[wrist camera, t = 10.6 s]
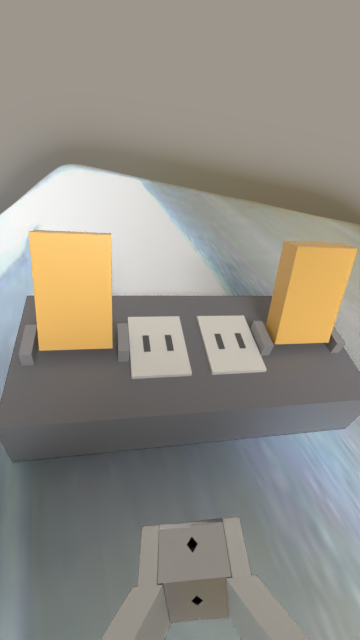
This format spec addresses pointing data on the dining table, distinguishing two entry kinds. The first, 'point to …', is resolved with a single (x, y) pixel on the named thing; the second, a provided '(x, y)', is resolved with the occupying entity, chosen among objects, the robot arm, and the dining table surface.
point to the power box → (172, 381)
